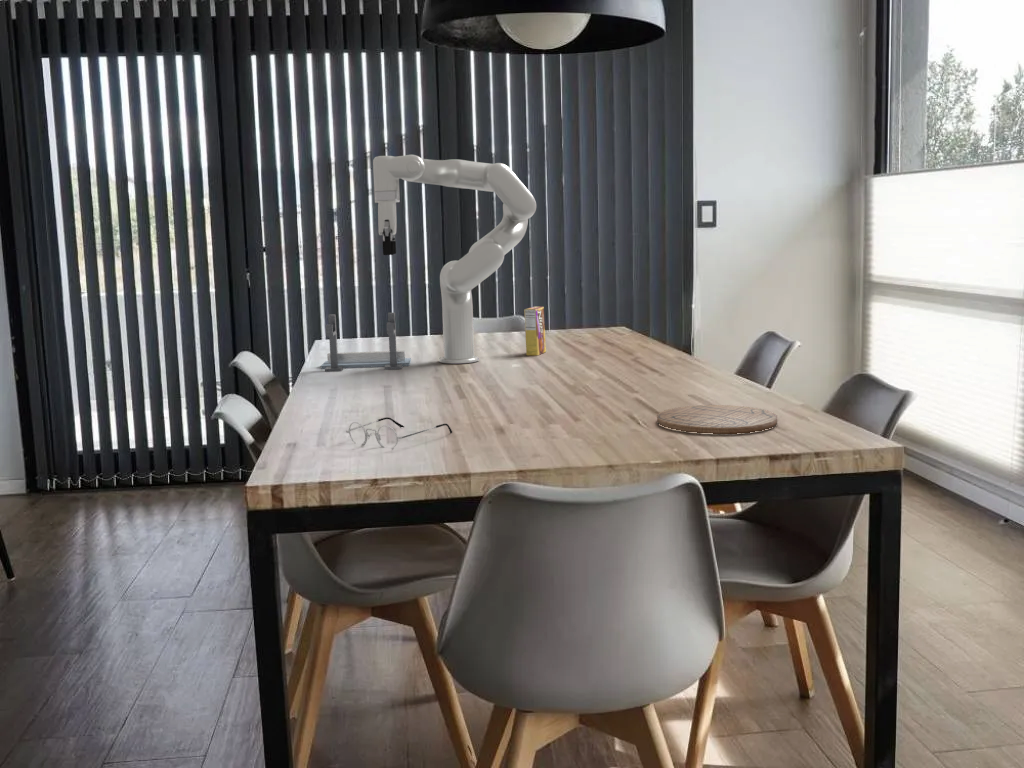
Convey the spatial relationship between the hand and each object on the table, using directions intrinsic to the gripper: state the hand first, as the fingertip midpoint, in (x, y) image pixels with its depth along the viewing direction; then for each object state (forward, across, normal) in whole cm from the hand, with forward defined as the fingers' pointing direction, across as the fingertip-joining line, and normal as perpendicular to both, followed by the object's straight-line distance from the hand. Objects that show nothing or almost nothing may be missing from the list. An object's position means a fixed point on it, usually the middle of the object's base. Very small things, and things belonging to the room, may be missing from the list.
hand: (389, 254), depth 313 cm
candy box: (+34, -16, +45) cm, 59 cm away
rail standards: (+34, +7, -9) cm, 36 cm away
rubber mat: (+34, -3, -9) cm, 36 cm away
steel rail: (+33, -3, -9) cm, 35 cm away
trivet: (+35, +106, +76) cm, 134 cm away
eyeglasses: (+35, +109, +9) cm, 115 cm away
